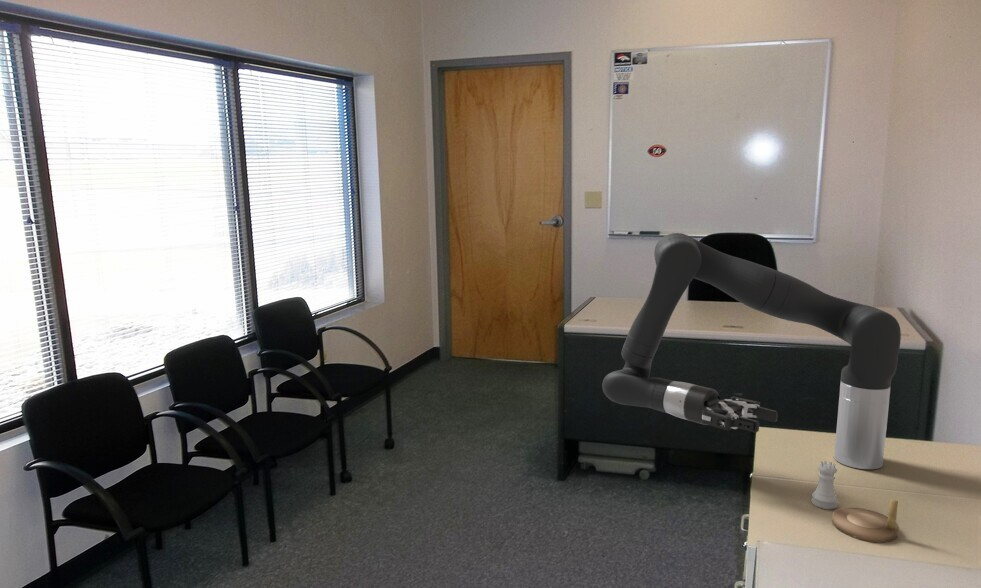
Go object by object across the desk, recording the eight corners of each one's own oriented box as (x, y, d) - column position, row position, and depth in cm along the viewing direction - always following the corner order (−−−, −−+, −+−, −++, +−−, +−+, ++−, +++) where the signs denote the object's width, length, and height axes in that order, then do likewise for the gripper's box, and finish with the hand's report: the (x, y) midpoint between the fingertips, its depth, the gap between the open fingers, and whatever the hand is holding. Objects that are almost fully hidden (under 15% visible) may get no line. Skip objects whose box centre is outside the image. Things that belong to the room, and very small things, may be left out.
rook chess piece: (835, 501, 129) (838, 460, 128) (840, 511, 125) (843, 470, 124) (809, 498, 131) (812, 457, 129) (813, 508, 126) (816, 467, 125)
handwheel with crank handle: (843, 508, 127) (846, 476, 126) (905, 527, 120) (908, 493, 119) (823, 527, 120) (826, 493, 118) (888, 548, 113) (891, 513, 112)
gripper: (674, 391, 139) (753, 411, 128) (708, 378, 149) (784, 395, 138) (672, 427, 140) (750, 450, 129) (706, 411, 150) (781, 431, 139)
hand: (767, 422), depth 133 cm, fingers open, 8 cm apart
